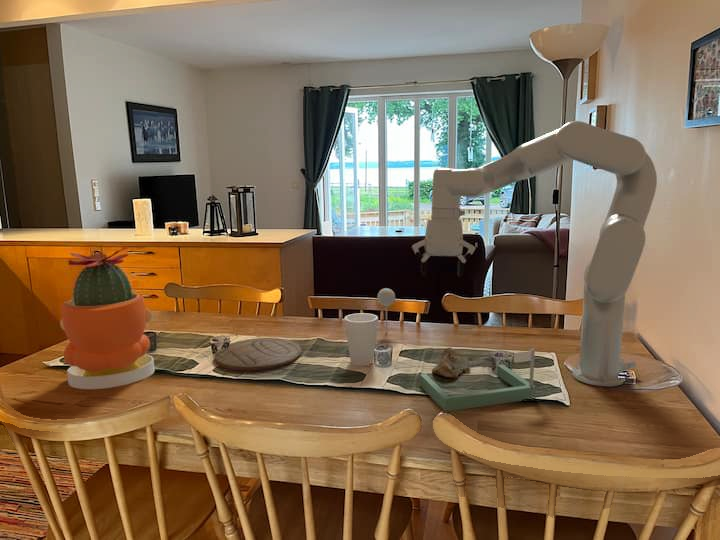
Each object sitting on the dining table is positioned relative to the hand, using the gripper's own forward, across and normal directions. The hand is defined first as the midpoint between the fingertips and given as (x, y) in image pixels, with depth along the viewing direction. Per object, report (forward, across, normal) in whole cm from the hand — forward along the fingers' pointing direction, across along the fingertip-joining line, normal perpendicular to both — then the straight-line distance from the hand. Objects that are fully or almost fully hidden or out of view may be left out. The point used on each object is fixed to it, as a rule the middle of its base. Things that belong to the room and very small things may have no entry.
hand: (442, 275), depth 152 cm
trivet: (+27, +52, -5) cm, 59 cm away
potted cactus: (+28, +88, +11) cm, 93 cm away
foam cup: (+25, +22, +1) cm, 33 cm away
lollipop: (+26, +13, -26) cm, 39 cm away
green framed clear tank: (+24, -6, +23) cm, 34 cm away
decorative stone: (+24, -2, +10) cm, 26 cm away
